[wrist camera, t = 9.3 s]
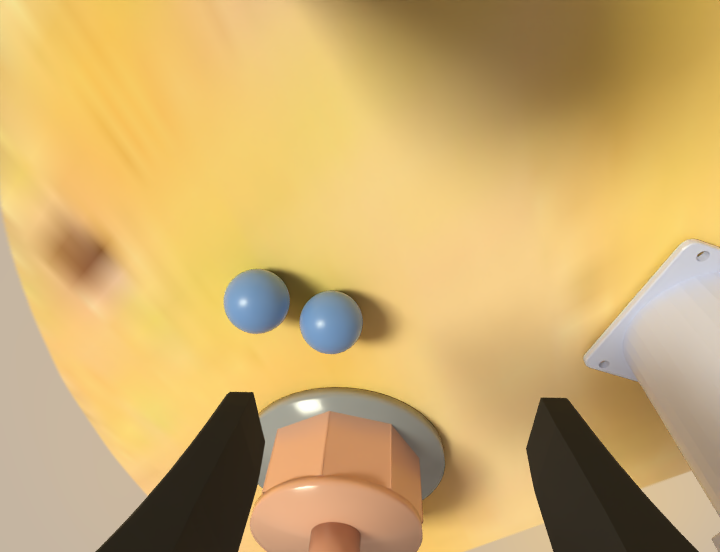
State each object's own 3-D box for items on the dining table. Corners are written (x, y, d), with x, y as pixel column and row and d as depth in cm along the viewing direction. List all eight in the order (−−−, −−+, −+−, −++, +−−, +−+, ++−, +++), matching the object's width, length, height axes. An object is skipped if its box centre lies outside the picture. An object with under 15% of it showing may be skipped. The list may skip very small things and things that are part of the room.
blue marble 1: (301, 267, 22) (290, 306, 19) (287, 313, 23) (275, 354, 21) (239, 248, 21) (220, 286, 19) (229, 296, 23) (210, 337, 20)
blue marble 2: (372, 288, 22) (370, 329, 20) (353, 331, 24) (349, 374, 21) (313, 271, 22) (303, 310, 19) (298, 316, 23) (288, 357, 21)
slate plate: (478, 419, 27) (480, 430, 27) (400, 521, 34) (401, 532, 34) (268, 363, 25) (264, 374, 25) (232, 483, 33) (229, 494, 32)
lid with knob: (439, 430, 27) (456, 582, 20) (392, 511, 32) (393, 652, 26) (280, 396, 26) (243, 544, 19) (259, 486, 31) (224, 625, 25)
